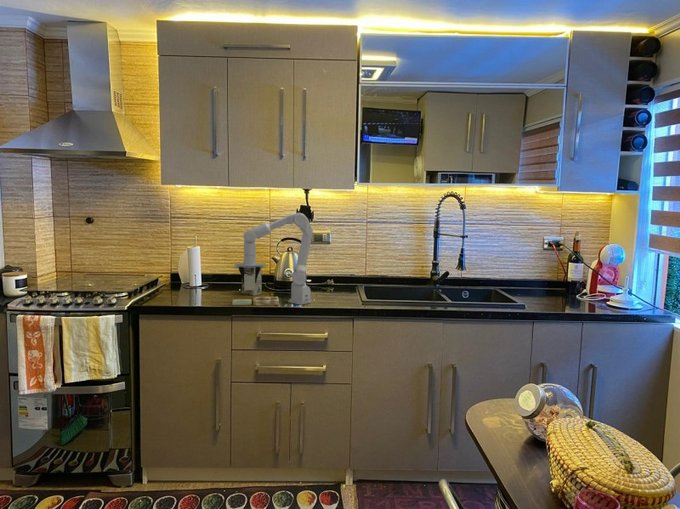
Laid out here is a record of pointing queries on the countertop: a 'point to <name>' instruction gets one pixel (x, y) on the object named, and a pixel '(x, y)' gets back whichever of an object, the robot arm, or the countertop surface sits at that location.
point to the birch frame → (266, 301)
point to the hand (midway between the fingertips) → (249, 282)
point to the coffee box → (257, 284)
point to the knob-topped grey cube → (249, 282)
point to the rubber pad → (242, 302)
